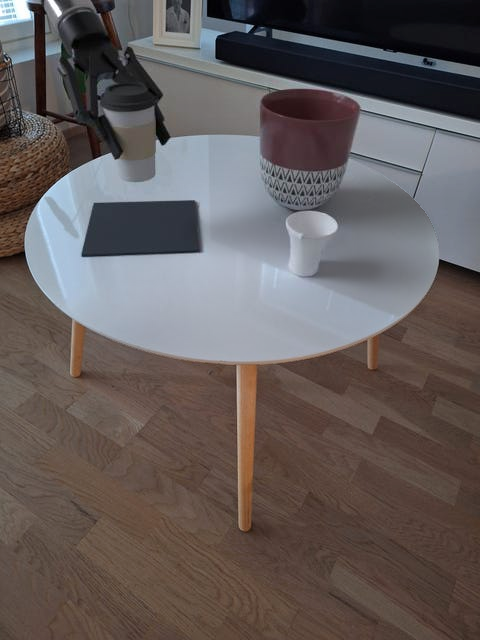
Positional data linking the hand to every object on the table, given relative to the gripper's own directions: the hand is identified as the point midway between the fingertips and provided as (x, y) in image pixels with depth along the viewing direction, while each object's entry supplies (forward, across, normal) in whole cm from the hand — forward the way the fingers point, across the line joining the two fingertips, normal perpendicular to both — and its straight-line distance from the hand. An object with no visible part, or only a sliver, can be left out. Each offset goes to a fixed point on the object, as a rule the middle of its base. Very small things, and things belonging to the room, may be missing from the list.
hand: (143, 148), depth 80 cm
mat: (+9, -1, -16) cm, 19 cm away
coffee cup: (+2, 0, -6) cm, 7 cm away
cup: (+32, -15, +6) cm, 36 cm away
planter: (+19, -33, -6) cm, 39 cm away
